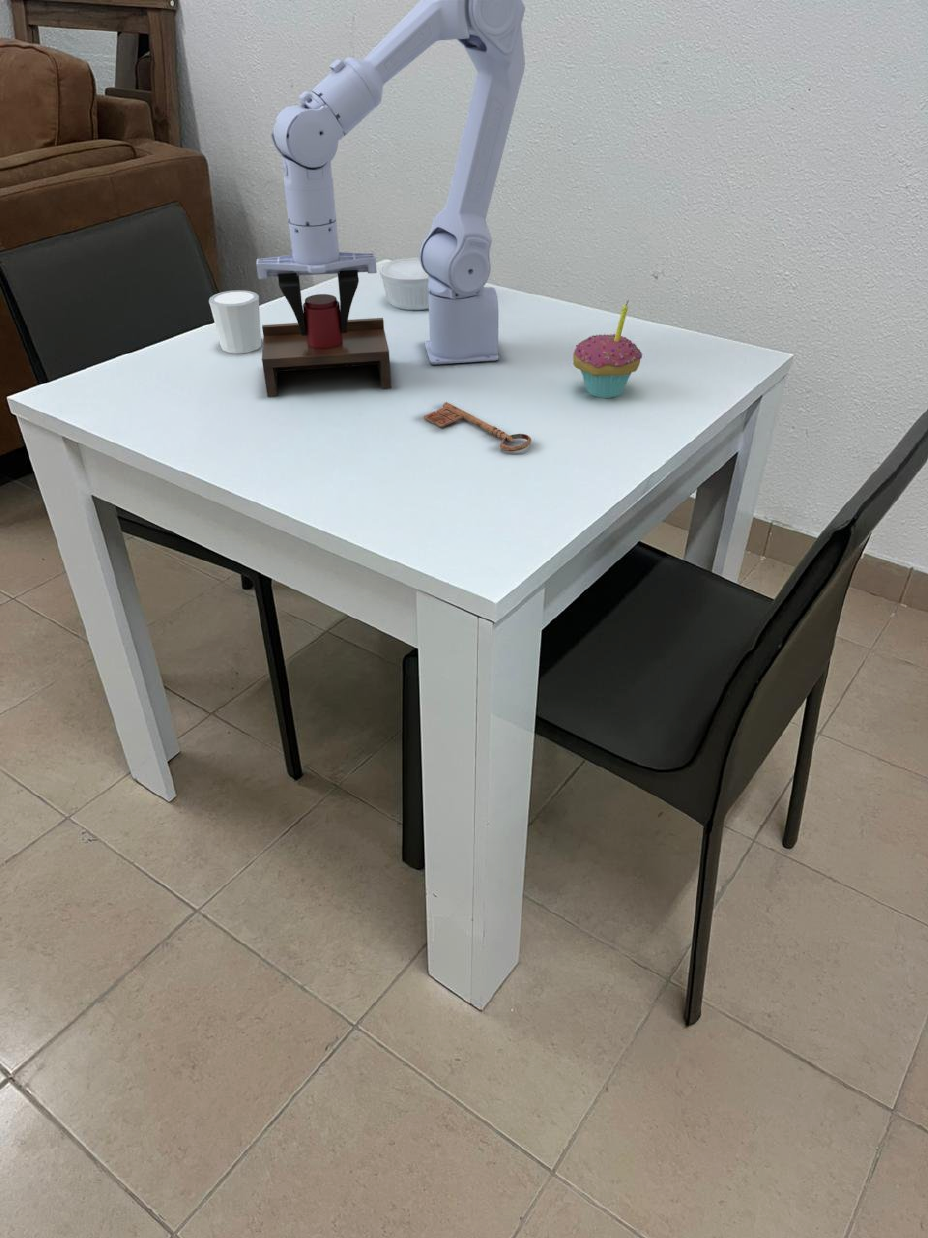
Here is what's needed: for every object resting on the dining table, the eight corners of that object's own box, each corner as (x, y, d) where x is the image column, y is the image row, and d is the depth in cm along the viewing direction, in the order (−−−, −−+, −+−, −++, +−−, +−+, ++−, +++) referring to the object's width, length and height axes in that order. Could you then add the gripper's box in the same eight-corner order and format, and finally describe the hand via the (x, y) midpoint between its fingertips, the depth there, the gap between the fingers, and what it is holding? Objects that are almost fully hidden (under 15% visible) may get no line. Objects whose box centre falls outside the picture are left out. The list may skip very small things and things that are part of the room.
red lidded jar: (342, 334, 122) (338, 292, 118) (343, 347, 118) (339, 303, 115) (307, 336, 121) (302, 294, 118) (307, 349, 118) (302, 305, 114)
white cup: (271, 338, 135) (264, 289, 131) (258, 355, 129) (250, 305, 125) (225, 336, 136) (217, 288, 131) (210, 354, 130) (201, 304, 126)
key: (421, 419, 113) (498, 462, 104) (420, 412, 113) (498, 455, 103) (458, 402, 116) (537, 444, 106) (457, 396, 115) (537, 437, 106)
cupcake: (645, 384, 121) (655, 291, 113) (626, 409, 114) (636, 313, 107) (582, 373, 123) (589, 282, 116) (560, 397, 117) (566, 303, 110)
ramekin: (374, 311, 144) (372, 276, 141) (390, 288, 152) (388, 255, 149) (444, 314, 142) (444, 279, 139) (457, 291, 151) (456, 258, 148)
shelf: (385, 362, 127) (383, 317, 124) (391, 388, 120) (388, 341, 116) (268, 369, 125) (262, 324, 122) (267, 396, 118) (260, 349, 115)
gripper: (250, 231, 107) (266, 346, 115) (375, 226, 108) (382, 339, 117) (252, 216, 112) (267, 326, 121) (371, 211, 114) (377, 320, 122)
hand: (323, 331), depth 119 cm, fingers closed on red lidded jar, 4 cm apart
